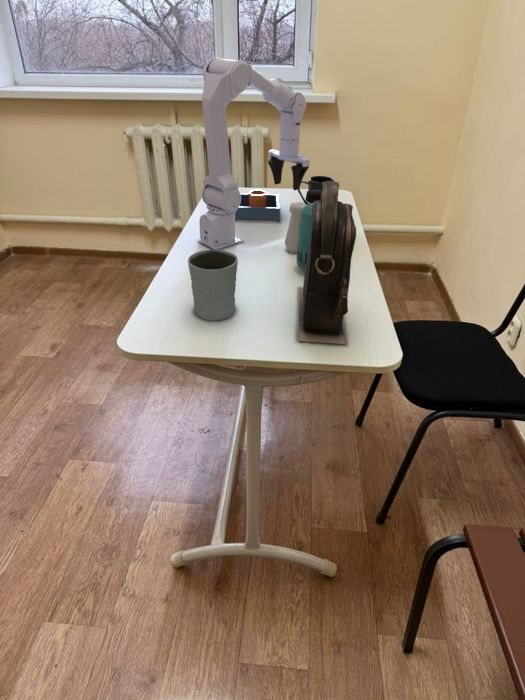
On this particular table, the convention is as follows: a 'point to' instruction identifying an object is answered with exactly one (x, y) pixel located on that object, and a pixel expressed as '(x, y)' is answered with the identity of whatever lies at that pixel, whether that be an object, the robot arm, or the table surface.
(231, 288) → the grey plant pot
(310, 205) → the beverage bottle
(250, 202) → the cup
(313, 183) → the mug
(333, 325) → the shoulder bag
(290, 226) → the salt shaker
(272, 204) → the dark grey storage bin
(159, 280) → the table surface
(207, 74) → the robot arm
